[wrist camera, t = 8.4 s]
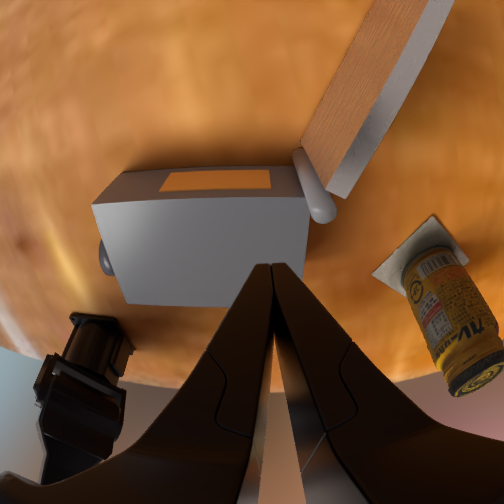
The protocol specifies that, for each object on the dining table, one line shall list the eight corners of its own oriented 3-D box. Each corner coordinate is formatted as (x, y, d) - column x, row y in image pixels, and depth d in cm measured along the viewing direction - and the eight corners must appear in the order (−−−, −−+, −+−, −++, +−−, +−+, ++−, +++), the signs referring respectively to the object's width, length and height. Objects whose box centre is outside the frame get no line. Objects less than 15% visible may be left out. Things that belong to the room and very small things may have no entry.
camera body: (131, 263, 23) (100, 331, 17) (102, 158, 17) (43, 211, 11) (299, 263, 22) (311, 339, 17) (309, 147, 17) (338, 200, 11)
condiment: (418, 305, 26) (458, 406, 16) (370, 273, 23) (415, 401, 14) (468, 258, 22) (527, 356, 13) (430, 213, 19) (512, 331, 10)
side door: (376, -2, 10) (439, -23, 5) (398, 13, 11) (468, 3, 5) (300, 141, 16) (324, 189, 11) (323, 152, 17) (357, 205, 11)
